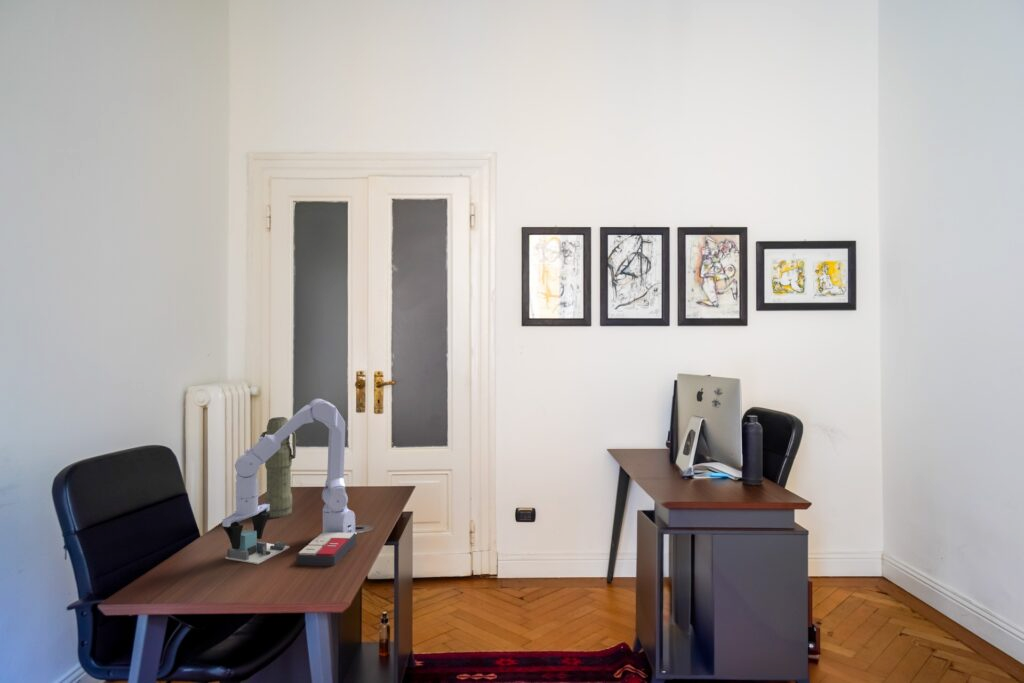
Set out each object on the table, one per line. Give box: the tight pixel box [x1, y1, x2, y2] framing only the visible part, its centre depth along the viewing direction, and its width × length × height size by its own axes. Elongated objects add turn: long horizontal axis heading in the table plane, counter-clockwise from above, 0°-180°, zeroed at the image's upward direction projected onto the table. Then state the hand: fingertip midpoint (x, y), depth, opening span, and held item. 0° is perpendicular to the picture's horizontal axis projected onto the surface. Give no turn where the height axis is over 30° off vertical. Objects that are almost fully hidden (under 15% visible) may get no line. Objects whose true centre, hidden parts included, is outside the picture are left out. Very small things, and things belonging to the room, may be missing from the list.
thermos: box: [259, 416, 297, 519], centre depth 177 cm, size 9×12×35 cm
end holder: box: [226, 541, 268, 560], centre depth 141 cm, size 7×7×3 cm
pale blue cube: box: [238, 529, 258, 555], centre depth 142 cm, size 5×4×6 cm
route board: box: [225, 540, 291, 565], centre depth 143 cm, size 12×12×2 cm
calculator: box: [296, 531, 357, 567], centre depth 141 cm, size 11×4×15 cm
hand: (247, 543), depth 141 cm, fingers open, 7 cm apart
